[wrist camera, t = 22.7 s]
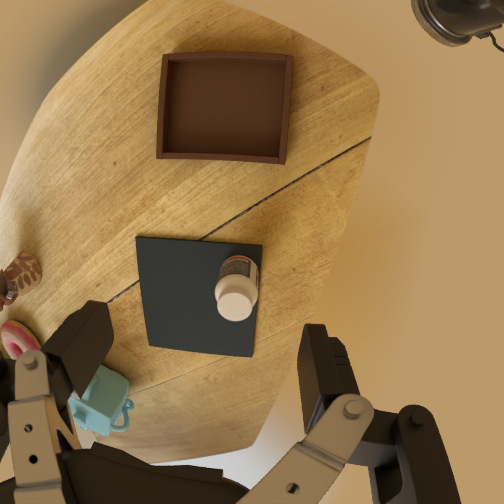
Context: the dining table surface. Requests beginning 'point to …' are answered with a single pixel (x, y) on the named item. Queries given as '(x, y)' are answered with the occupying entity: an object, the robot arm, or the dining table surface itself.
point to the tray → (224, 106)
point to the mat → (191, 295)
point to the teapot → (103, 403)
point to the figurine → (19, 278)
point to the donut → (17, 339)
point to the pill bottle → (237, 288)
